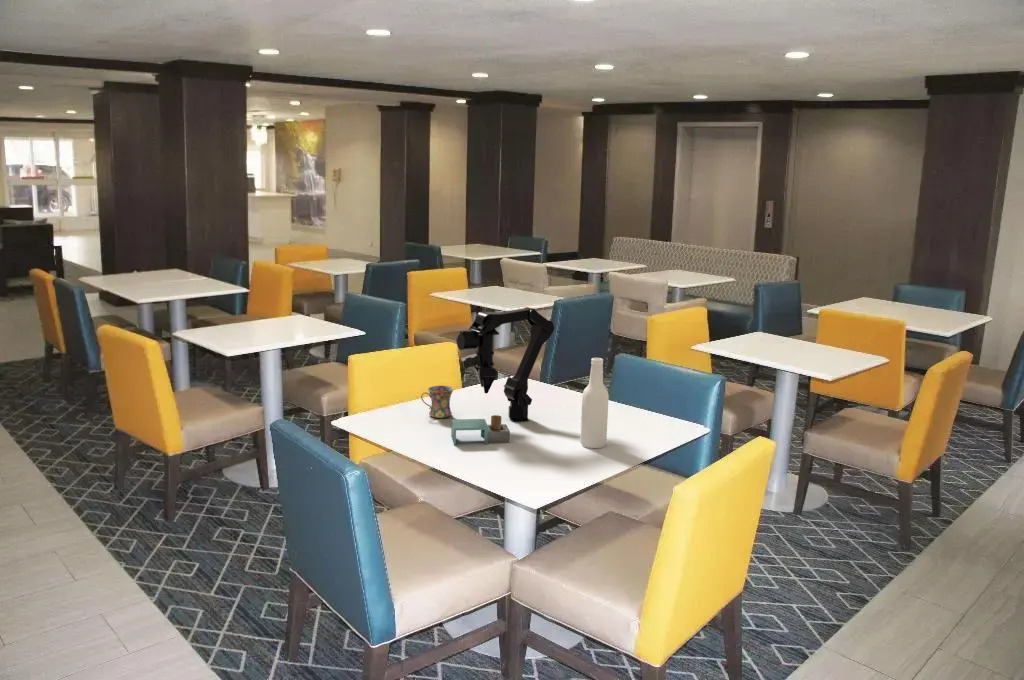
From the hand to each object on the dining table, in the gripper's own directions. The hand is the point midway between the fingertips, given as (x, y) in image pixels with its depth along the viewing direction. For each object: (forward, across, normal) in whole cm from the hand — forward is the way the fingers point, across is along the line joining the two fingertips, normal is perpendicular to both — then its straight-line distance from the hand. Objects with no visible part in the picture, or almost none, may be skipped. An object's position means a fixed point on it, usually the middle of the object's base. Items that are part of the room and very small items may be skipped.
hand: (484, 389), depth 299 cm
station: (+13, +17, -4) cm, 22 cm away
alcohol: (+13, +26, +34) cm, 45 cm away
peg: (+13, +17, +2) cm, 21 cm away
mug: (+13, -12, -16) cm, 24 cm away
